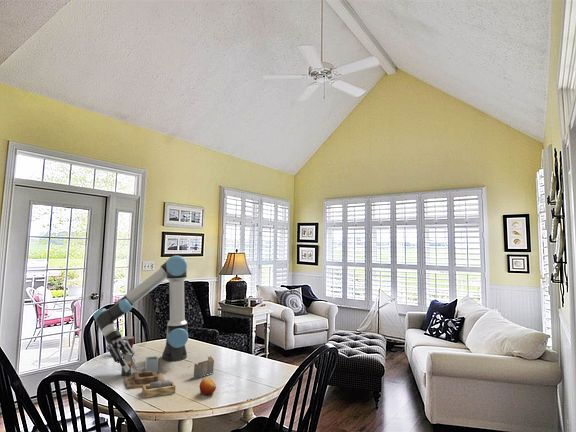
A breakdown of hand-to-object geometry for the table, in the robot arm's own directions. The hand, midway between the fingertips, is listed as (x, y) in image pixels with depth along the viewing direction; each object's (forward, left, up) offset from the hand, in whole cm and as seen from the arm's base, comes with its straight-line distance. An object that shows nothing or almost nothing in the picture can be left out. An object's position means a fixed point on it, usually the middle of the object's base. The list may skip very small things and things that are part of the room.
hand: (131, 369), depth 190 cm
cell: (+2, -3, -3) cm, 5 cm away
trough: (-10, +28, -3) cm, 30 cm away
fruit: (-31, +38, -4) cm, 49 cm away
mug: (0, -43, -4) cm, 43 cm away
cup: (-11, -4, -3) cm, 12 cm away
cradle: (-6, +11, -3) cm, 13 cm away
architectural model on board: (-36, +13, -4) cm, 38 cm away
